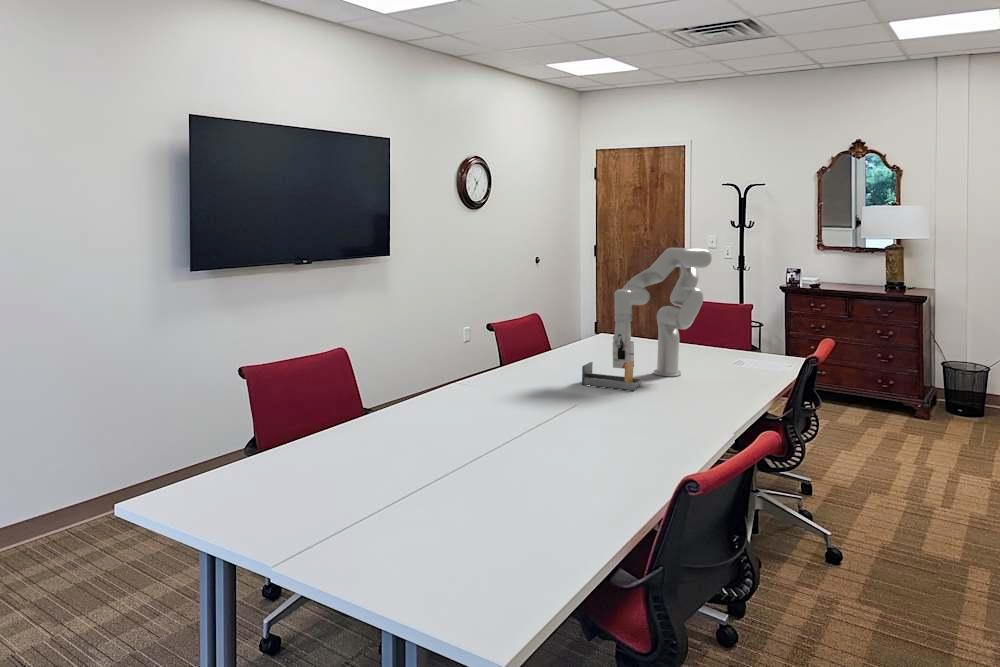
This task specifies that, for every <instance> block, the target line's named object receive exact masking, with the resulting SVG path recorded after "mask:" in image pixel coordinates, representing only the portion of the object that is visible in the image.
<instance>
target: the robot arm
mask: <svg viewBox="0 0 1000 667" xmlns="http://www.w3.org/2000/svg"><path fill="white" fill-rule="evenodd" d="M712 259H713V257H712V254H711V252H710V251H709V250H707V249H705V248H695V247H693V248H692V247H687V248H685V247H668V248H666V249H665V250H664V251H663V252H662V253H661V255H660V256H658V258H657V259H656V260H655V261H654V262H653V263H652V264H651V265H650V267H648V268H646V269H645V270H643V271H641V272H639V273H638V274H635V275H634V276H633V277H632V278H630V279H629V280H628V281H627V283H625V285H624V286H623V287H622V288H620V289H619V288H618V289H616V290H615V292H614V322H615V323H614V324H615V325H614V334H613V336H614V343H615V344H617V347H618V359H623V360H624V359H625V351H624V347H625V343H626V340H627V336H630V341H632V340H631V337H632V328H631V326H632V324H631V322H632V321H633V306H644V305H645V304H647V303H648V302H650V298H651V297H650V292H649V291H648V290H647V289H645V288H646V287H648V286H652V285H656V284H658V283H659V284H660V283H661V282H663V281H664V280H665V279H666V278H667V277H668V276H669V275H670V274H671V273H672V272H673V271H674V269H676V268H680V275H679V278H678V280H677V281H676V284H675V285H674V287H673V289H672V291H671V293H670V296H669V301H670V303H671V304H672V305H673V306H671V305H665V306H662V307H660V308H659V310H658V311H657V313H656V322H657V327H658V328H657V329H658V331H657V332H658V334H657V335H658V338H657V363H656V369H653V374H655V375H656V376H659V377H679V376H681V375H682V371H681V370H680V369H679V358H680V356H679V355H680V333H679V330H687V329H689V328H690V327H691V326H692V324H693V323H694V321H695V319H696V317H697V315H698V314H699V312H700V310H701V307H702V305H703V302H704V294H703V291H702V290H701V289H699V288H697V284H698V283H699V279H700V278H699V272H698V269H704V268H707V267H708V266H710V264H711V263H712ZM617 340H618V341H617ZM621 342H623V343H621ZM622 345H623V347H622Z"/></svg>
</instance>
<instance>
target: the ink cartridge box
mask: <svg viewBox="0 0 1000 667" xmlns="http://www.w3.org/2000/svg"><path fill="white" fill-rule="evenodd" d="M617 341H618V340H617ZM634 342H635V341H633V340H630V336H627V340H626V343H625V347H624V351H625V359H624V360H623V359H618V347H617V344H615V343H614V335H612V368H614V369H624V370H625V364H627V363H628V362H633V368H634V367H635V348H634V347H635V343H634ZM621 343H623V342H621ZM622 347H623V345H622Z"/></svg>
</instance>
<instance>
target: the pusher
mask: <svg viewBox="0 0 1000 667" xmlns="http://www.w3.org/2000/svg"><path fill="white" fill-rule="evenodd" d="M624 377H625V379H624V382H632V383H633V378H634V367H633V362H628V363H627V364H625V369H624Z"/></svg>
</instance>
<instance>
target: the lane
mask: <svg viewBox="0 0 1000 667" xmlns="http://www.w3.org/2000/svg"><path fill="white" fill-rule="evenodd" d="M624 379H625V376H620V375H613V374H612V375H611V374H602V373H593V361H589V362H588V363H586V364H584V365H582V367H581V386H582V385H590V386H589V387H591V386H597V387H596V388H600V387H605V388H604V389H608V388H613V389H612V390H617V389H622V390H621V391H626V390H630V391H629V392H635V391H636V390H638V389H639V388H640V387H641V378H639V377H633V383H632V382H624ZM638 387H639V388H638ZM637 388H638V389H637ZM635 389H636V390H635ZM634 390H635V391H634Z"/></svg>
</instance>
